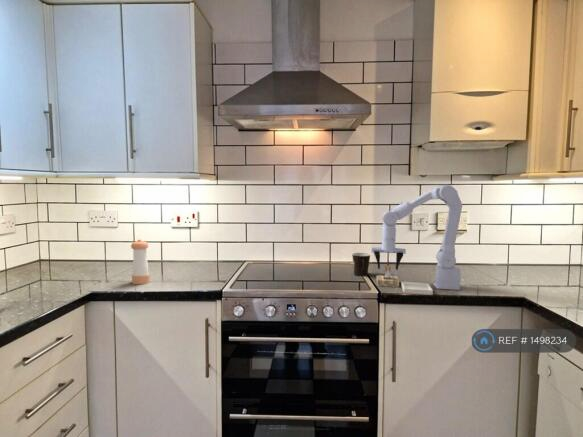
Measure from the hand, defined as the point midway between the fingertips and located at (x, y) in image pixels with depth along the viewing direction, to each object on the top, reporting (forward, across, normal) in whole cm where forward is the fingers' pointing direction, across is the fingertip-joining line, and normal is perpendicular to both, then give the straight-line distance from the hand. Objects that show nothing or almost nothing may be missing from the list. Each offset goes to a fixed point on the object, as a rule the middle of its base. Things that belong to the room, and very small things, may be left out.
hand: (387, 268), depth 164 cm
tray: (+7, -11, +8) cm, 16 cm away
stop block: (+7, 0, 0) cm, 7 cm away
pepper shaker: (+7, +108, +20) cm, 110 cm away
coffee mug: (+7, +12, -14) cm, 19 cm away
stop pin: (+7, 0, 0) cm, 7 cm away
